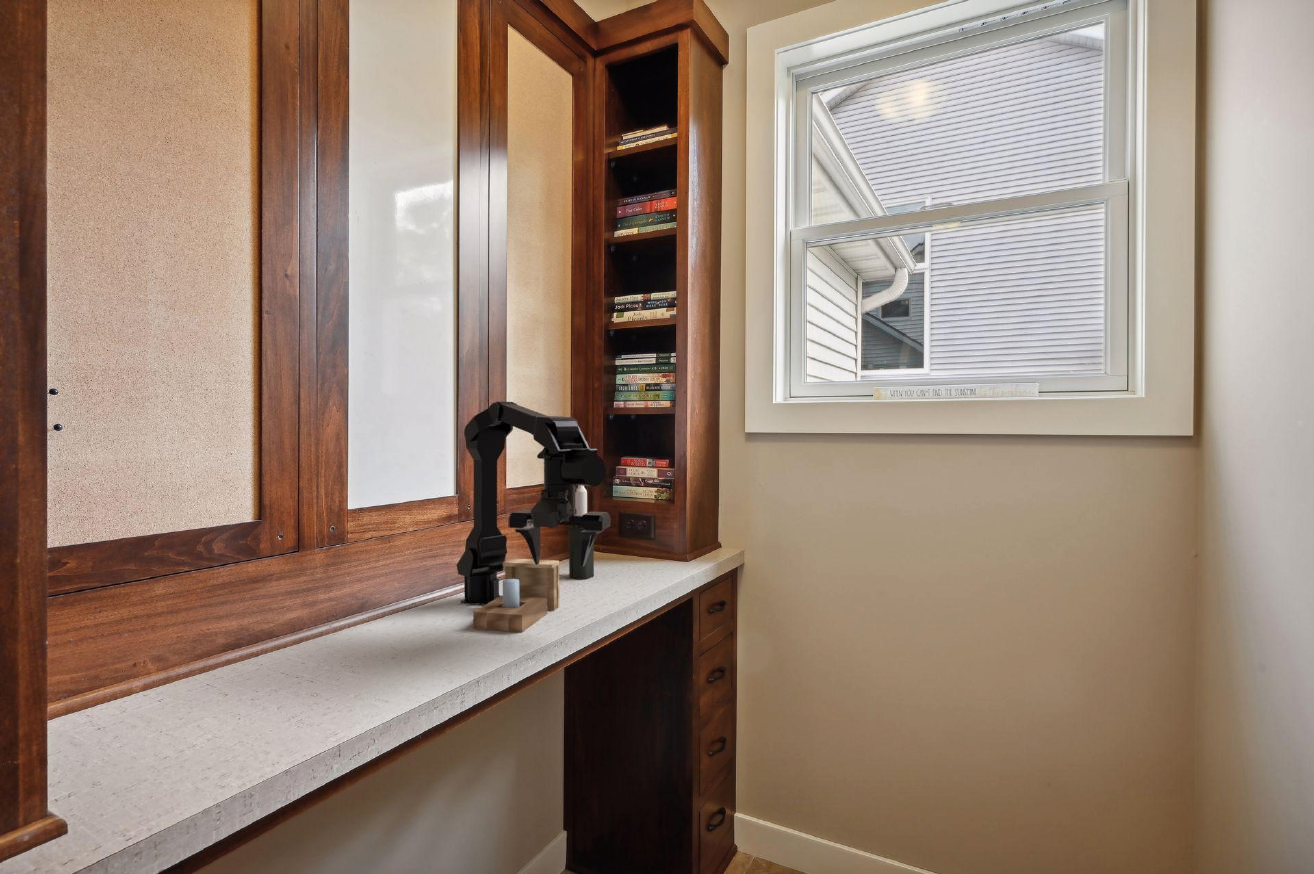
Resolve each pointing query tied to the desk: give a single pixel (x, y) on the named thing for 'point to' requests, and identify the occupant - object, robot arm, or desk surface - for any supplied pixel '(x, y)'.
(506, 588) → the peg
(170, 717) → the desk surface
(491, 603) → the socket station
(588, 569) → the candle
